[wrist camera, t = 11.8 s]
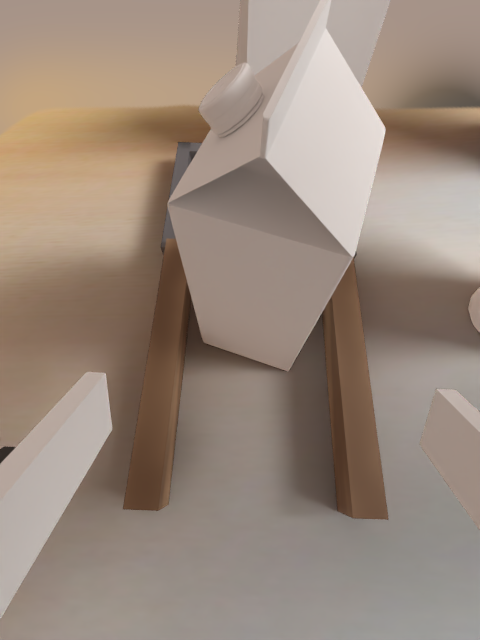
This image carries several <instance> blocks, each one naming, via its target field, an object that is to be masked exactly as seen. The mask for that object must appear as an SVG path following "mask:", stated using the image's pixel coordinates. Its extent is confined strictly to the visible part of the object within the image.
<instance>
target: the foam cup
mask: <svg viewBox="0 0 480 640" xmlns="http://www.w3.org/2000/svg"><path fill="white" fill-rule="evenodd" d="M468 311H469V314H470V317H471V321H472V324H473V325H474V327H475V328H476V329H477V330H478V332H479V333H480V287H479V288H478V289H477V290H476V291H475V293H474V294H473V295H472V296H471V299H470V303H469V307H468Z"/></svg>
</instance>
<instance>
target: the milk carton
mask: <svg viewBox="0 0 480 640" xmlns="http://www.w3.org/2000/svg"><path fill="white" fill-rule="evenodd" d="M330 4H331V0H320V2H319V4H318V6H317V8H316V10H315V12H314V14H313V16H312V18H311V20H310V22H309V24H308V26H307V28H306V30H305V32H304V33H303V35H302V37H301V39H300V41H299V43H297V44H296V45H295V46H293V47H292V48H291V49H289V50H288V51H287V52H285V53H284V54H283V55H281V56H280V57H279V58H277V59H276V60H275V61H273V62H272V63H271V64H269V65H268V66H267V67H265V68H264V69H263V70H261V71H260V72H259V73H257V74H256V75H254V73H253V72H252V70H251V68H250V66H249V65H248V64H247V63H245V62H244V63H241V64H239V65H237V66H236V67H234V68H233V69H232V70H230V71H229V72H228V73H227V74H225V75H224V76H223V77H222V78H221V79H220V80H219V81H218V82H217V83H216V84H215V85H214V86H213V87H212V88H211V89H210V91H209V92H208V93H207V94H206V96H205V97H204V98H203V100H202V102H201V104H200V106H199V113H200V114H201V116H202V117H203V118H204V120H205V121H206V122H207V123H208V124H209V125H210V127H211V129H210V131H209V133H208V134H207V136H206V138H205V140H204V141H203V143H202V145H201V146H200V148H199V150H198V151H197V153H196V155H195V156H194V158H193V160H192V161H191V163H190V165H189V166H188V168H187V170H186V171H185V173H184V175H183V176H182V178H181V180H180V181H179V183H178V185H177V187H176V188H175V190H174V192H173V194H172V195H171V197H170V199H169V201H168V204H167V205H168V210H169V214H170V218H171V222H172V226H173V230H174V234H175V237H176V241H177V245H178V249H179V253H180V256H181V260H182V264H183V268H184V272H185V275H186V279H187V283H188V287H189V291H190V294H191V298H192V302H193V306H194V309H195V313H196V317H197V321H198V325H199V328H200V332H201V336H202V340H203V342H204V343H206V344H209V345H212V346H215V347H218V348H221V349H224V350H227V351H230V352H232V353H235V354H238V355H241V356H244V357H247V358H250V359H253V360H256V361H259V362H262V363H265V364H268V365H270V366H273V367H276V368H279V369H282V370H285V371H289V370H290V368H291V366H292V364H293V363H294V361H295V359H296V357H297V356H298V354H299V352H300V350H301V349H302V347H303V345H304V343H305V342H306V340H307V338H308V336H309V335H310V333H311V331H312V329H313V328H314V326H315V324H316V322H317V321H318V319H319V317H320V315H321V314H322V312H323V310H324V308H325V306H326V305H327V303H328V301H329V299H330V298H331V296H332V294H333V292H334V291H335V289H336V287H337V285H338V284H339V282H340V280H341V278H342V277H343V275H344V273H345V271H346V270H347V268H348V266H349V264H350V263H351V261H352V259H353V257H354V256H355V253H356V249H357V245H358V242H359V238H360V234H361V230H362V225H363V221H364V217H365V213H366V209H367V205H368V201H369V197H370V193H371V189H372V185H373V181H374V177H375V173H376V169H377V165H378V161H379V157H380V153H381V149H382V145H383V140H384V136H385V126H384V125H383V123H382V121H381V120H380V118H379V116H378V114H377V113H376V111H375V109H374V108H373V106H372V104H371V103H370V101H369V99H368V98H367V96H366V94H365V93H364V91H363V89H362V88H361V86H360V84H359V83H358V81H357V79H356V78H355V76H354V74H353V73H352V71H351V69H350V68H349V66H348V64H347V63H346V61H345V59H344V58H343V56H342V54H341V52H340V51H339V49H338V47H337V46H336V44H335V42H334V41H333V39H332V37H331V36H330V34H329V32H328V31H327V29H326V24H327V19H328V14H329V9H330Z"/></svg>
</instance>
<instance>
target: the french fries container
mask: <svg viewBox="0 0 480 640" xmlns="http://www.w3.org/2000/svg"><path fill="white" fill-rule="evenodd" d="M319 2H320V0H240V11H239V27H238V41H237V55H236V66H237V65H239V64H241V63H244V62H245V63H247V64H248V65H249V66H250V68H251V70H252V72H253V73H254V75H256V74H257V73H259V72H260V71H261V70H263V69H264V68H265V67H267V66H268V65H269V64H271V63H272V62H273V61H275V60H276V59H277V58H279V57H280V56H281V55H283V54H284V53H285V52H287V51H288V50H289V49H291V48H292V47H293V46H295V45H296V44H297V43H299V41H300V39H301V37H302V35H303V33H304V32H305V30H306V28H307V26H308V24H309V22H310V20H311V18H312V16H313V14H314V12H315V10H316V8H317V6H318V4H319ZM389 3H390V0H331V4H330V9H329V14H328V19H327V24H326V29H327V31H328V32H329V34H330V36H331V37H332V39H333V41H334V42H335V44H336V46H337V47H338V49H339V51H340V52H341V54H342V56H343V58H344V59H345V61H346V63H347V64H348V66H349V68H350V69H351V71H352V73H353V74H354V76H355V78H356V79H357V81H358V83H359V84H360V86H361V87H362V84H363V81H364V78H365V75H366V72H367V69H368V66H369V63H370V60H371V57H372V54H373V51H374V48H375V45H376V42H377V39H378V36H379V33H380V30H381V27H382V24H383V21H384V18H385V15H386V12H387V9H388V6H389Z"/></svg>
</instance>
